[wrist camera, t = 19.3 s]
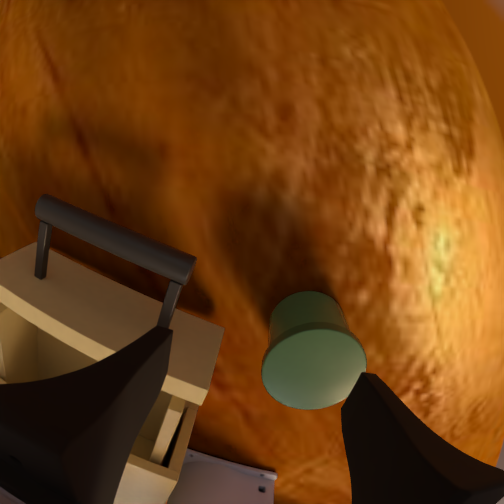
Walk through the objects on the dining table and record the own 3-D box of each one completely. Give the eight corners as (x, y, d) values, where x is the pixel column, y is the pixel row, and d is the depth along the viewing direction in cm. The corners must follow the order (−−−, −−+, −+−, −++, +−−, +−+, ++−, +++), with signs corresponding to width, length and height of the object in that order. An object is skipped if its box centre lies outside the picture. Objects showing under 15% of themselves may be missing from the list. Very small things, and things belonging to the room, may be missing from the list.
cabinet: (32, 322, 22) (-22, 370, 14) (199, 404, 22) (177, 481, 15) (39, 418, 26) (8, 461, 19) (164, 479, 27) (147, 533, 20)
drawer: (46, 173, 17) (-17, 186, 11) (255, 257, 18) (247, 305, 12) (33, 373, 22) (0, 410, 17) (174, 443, 23) (158, 495, 18)
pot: (362, 303, 19) (386, 347, 14) (323, 367, 21) (333, 418, 16) (285, 272, 19) (289, 313, 14) (251, 343, 20) (245, 394, 16)
